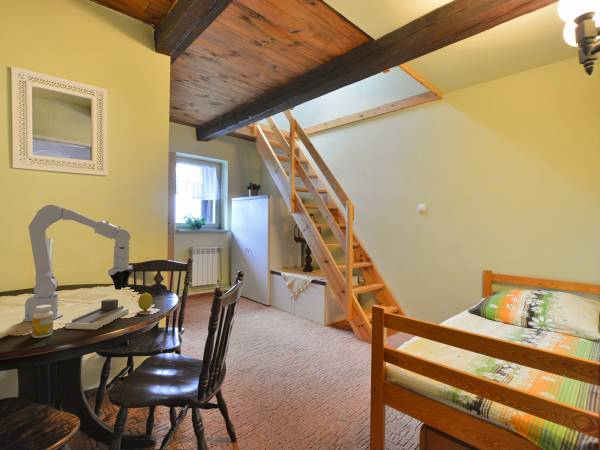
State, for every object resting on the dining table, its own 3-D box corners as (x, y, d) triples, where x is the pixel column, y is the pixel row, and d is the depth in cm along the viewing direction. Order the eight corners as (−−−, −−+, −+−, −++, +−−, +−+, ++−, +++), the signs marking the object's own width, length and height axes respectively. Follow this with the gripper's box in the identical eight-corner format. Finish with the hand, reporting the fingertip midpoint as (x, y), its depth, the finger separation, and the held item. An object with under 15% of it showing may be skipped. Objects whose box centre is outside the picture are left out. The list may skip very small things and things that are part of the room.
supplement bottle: (30, 335, 102) (31, 306, 102) (50, 331, 106) (51, 303, 106) (33, 339, 98) (34, 309, 98) (54, 335, 102) (55, 306, 102)
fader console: (65, 328, 109) (65, 319, 109) (102, 311, 129) (102, 304, 129) (95, 329, 109) (96, 321, 109) (128, 312, 129) (128, 305, 129)
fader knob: (101, 310, 123) (101, 300, 123) (105, 308, 126) (106, 298, 126) (113, 311, 123) (113, 301, 123) (117, 309, 126) (118, 299, 126)
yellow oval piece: (146, 313, 129) (146, 294, 129) (134, 311, 130) (135, 293, 130) (154, 309, 135) (155, 291, 135) (144, 308, 136) (144, 290, 136)
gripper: (120, 259, 124) (119, 292, 124) (139, 255, 139) (138, 285, 139) (103, 259, 124) (102, 292, 124) (124, 255, 139) (123, 285, 139)
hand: (120, 288), depth 132 cm, fingers open, 3 cm apart
